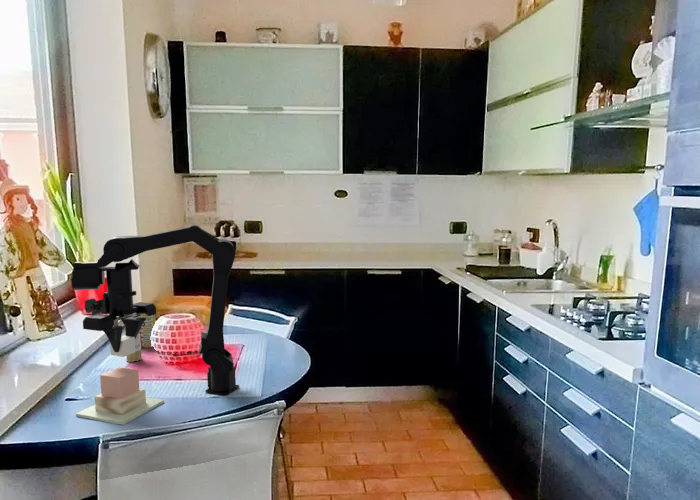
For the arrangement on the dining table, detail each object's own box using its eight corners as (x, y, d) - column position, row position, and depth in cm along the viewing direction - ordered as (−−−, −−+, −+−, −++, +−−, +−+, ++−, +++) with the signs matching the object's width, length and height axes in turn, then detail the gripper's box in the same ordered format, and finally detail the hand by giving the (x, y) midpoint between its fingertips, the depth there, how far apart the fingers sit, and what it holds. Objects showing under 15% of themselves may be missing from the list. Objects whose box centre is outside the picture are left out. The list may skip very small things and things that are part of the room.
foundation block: (146, 402, 138) (145, 388, 138) (122, 415, 131) (121, 400, 130) (120, 398, 141) (119, 384, 141) (95, 410, 134) (94, 396, 133)
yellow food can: (122, 348, 186) (120, 312, 185) (138, 340, 195) (136, 306, 193) (146, 349, 184) (144, 313, 183) (161, 342, 193) (160, 307, 191)
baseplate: (164, 402, 140) (164, 399, 140) (122, 424, 127) (122, 422, 127) (119, 394, 145) (119, 392, 145) (75, 416, 132) (75, 413, 132)
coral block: (139, 389, 137) (138, 369, 137) (121, 398, 132) (120, 378, 131) (119, 386, 139) (118, 367, 139) (101, 395, 134) (100, 375, 133)
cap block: (135, 352, 141) (134, 336, 141) (123, 356, 138) (122, 341, 137) (123, 350, 143) (122, 335, 142) (111, 355, 139) (110, 339, 139)
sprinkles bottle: (141, 357, 176) (138, 315, 175) (142, 361, 172) (140, 318, 171) (125, 359, 174) (123, 316, 173) (126, 363, 170) (124, 320, 169)
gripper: (123, 279, 150) (126, 336, 152) (63, 292, 133) (68, 356, 135) (156, 282, 146) (159, 341, 147) (99, 296, 128) (103, 362, 130)
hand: (123, 349), depth 140 cm, fingers closed on cap block, 4 cm apart
